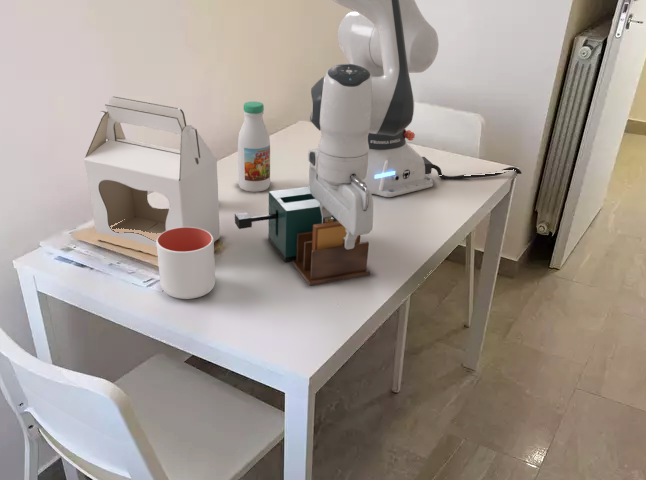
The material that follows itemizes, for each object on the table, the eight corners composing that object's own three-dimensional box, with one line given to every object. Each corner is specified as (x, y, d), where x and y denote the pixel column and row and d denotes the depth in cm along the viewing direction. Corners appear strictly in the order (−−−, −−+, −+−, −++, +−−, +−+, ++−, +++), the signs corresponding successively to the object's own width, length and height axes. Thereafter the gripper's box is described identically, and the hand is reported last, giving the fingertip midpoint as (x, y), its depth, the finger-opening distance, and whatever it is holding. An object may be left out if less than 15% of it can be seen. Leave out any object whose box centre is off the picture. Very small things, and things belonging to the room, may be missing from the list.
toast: (352, 264, 130) (357, 218, 125) (356, 268, 129) (360, 221, 124) (310, 271, 128) (312, 224, 122) (313, 275, 126) (315, 227, 121)
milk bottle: (233, 189, 161) (231, 105, 150) (245, 178, 167) (244, 97, 156) (263, 194, 159) (263, 110, 148) (274, 183, 165) (275, 101, 154)
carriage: (239, 229, 128) (239, 219, 127) (234, 223, 130) (234, 213, 129) (332, 215, 135) (333, 206, 133) (326, 210, 137) (327, 201, 136)
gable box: (95, 240, 137) (73, 102, 121) (134, 216, 147) (118, 85, 131) (187, 265, 130) (176, 121, 114) (221, 238, 140) (216, 102, 124)
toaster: (285, 262, 132) (286, 211, 126) (267, 238, 140) (267, 189, 134) (344, 252, 136) (348, 202, 130) (323, 230, 144) (326, 182, 138)
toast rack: (350, 254, 136) (352, 223, 132) (370, 274, 129) (373, 243, 125) (292, 263, 132) (293, 232, 128) (309, 285, 125) (310, 253, 121)
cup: (163, 274, 126) (159, 226, 121) (216, 274, 127) (214, 226, 121) (158, 302, 118) (152, 252, 113) (214, 301, 119) (212, 252, 113)
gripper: (386, 185, 110) (377, 258, 118) (335, 144, 125) (330, 212, 133) (351, 189, 108) (345, 264, 116) (304, 148, 123) (301, 216, 131)
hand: (337, 236), depth 124 cm, fingers open, 8 cm apart
